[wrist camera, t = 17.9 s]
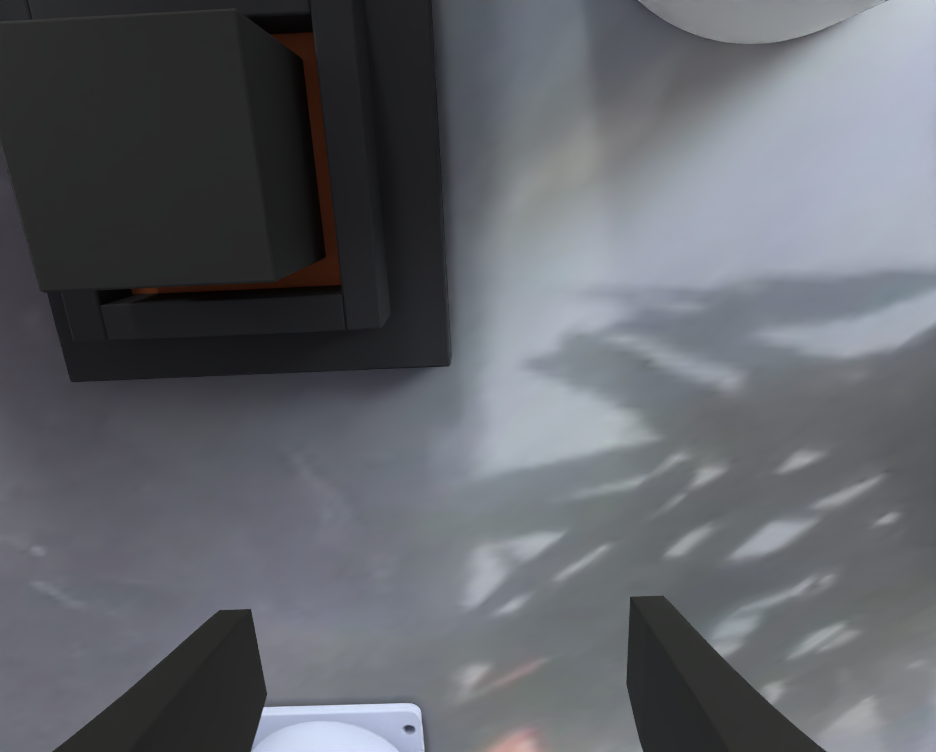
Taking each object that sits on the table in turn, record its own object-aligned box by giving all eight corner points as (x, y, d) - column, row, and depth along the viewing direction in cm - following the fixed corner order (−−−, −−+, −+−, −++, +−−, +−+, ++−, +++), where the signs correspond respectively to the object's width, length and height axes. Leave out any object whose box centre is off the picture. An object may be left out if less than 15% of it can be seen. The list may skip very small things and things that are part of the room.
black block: (326, 258, 17) (276, 282, 13) (149, 266, 17) (39, 293, 13) (303, 57, 16) (235, 7, 11) (108, 68, 16) (-34, 22, 11)
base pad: (451, 358, 19) (448, 385, 17) (89, 373, 20) (28, 402, 17) (426, -79, 16) (416, -134, 13) (-19, -52, 16) (-119, -101, 13)
